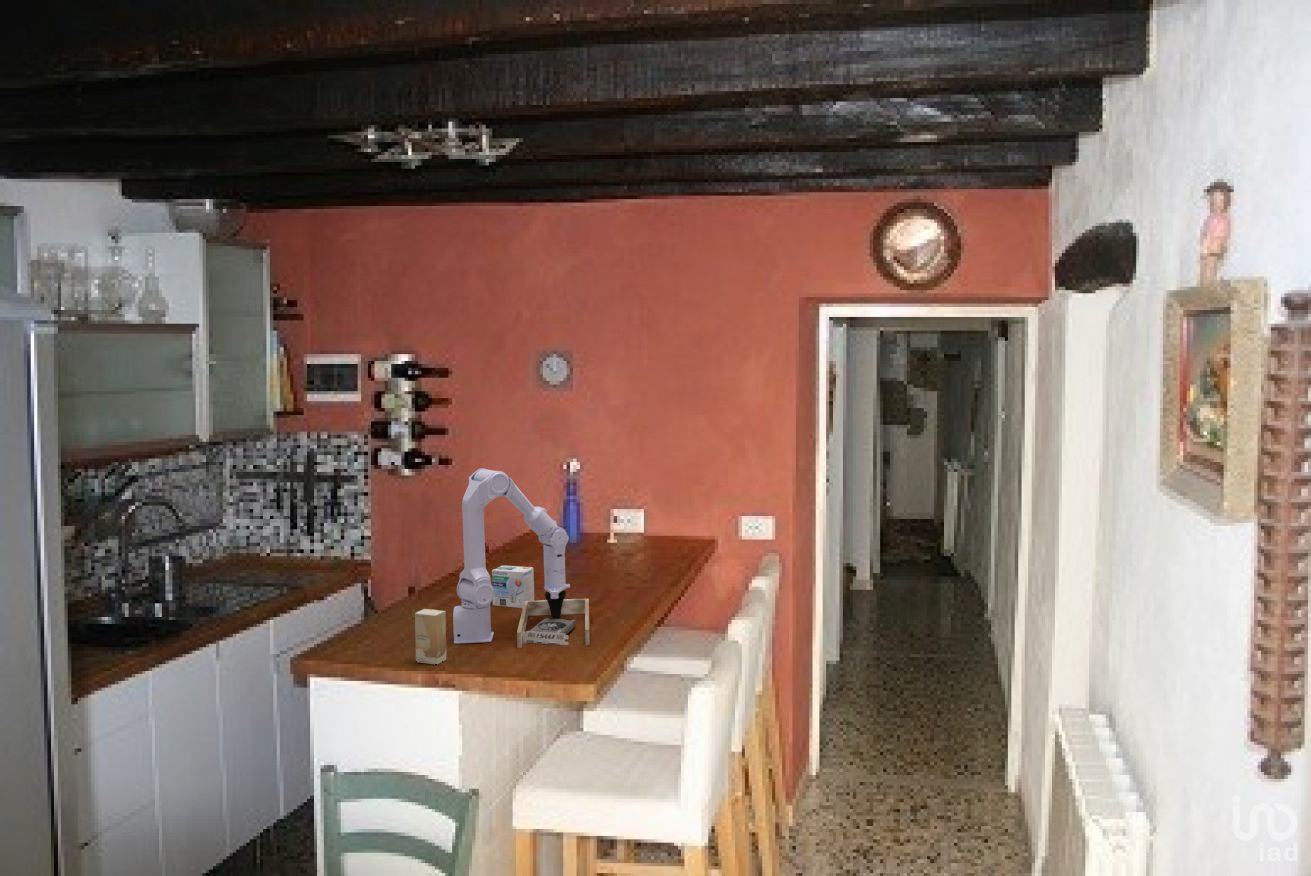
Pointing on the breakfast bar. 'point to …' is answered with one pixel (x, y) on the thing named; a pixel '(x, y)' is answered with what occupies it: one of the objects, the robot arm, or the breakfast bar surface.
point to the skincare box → (430, 636)
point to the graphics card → (549, 632)
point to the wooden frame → (543, 609)
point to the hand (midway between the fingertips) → (556, 618)
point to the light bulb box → (512, 586)
